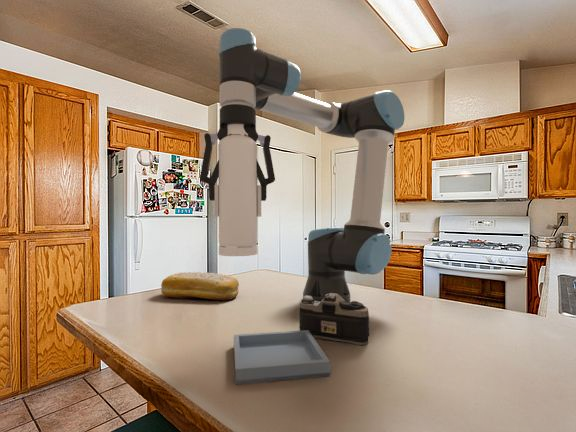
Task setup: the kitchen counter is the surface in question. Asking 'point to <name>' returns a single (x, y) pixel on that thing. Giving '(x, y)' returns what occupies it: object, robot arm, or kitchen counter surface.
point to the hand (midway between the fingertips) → (238, 216)
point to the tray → (278, 357)
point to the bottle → (237, 193)
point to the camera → (335, 319)
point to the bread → (200, 286)
